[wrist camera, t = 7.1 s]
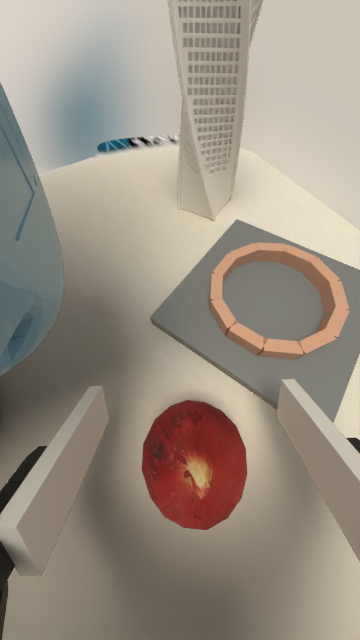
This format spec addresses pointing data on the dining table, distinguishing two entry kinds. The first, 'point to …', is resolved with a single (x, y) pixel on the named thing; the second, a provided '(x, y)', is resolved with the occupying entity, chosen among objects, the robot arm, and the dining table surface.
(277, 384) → the dock
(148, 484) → the red rounded fruit
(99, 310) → the dining table surface
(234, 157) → the skyscraper
